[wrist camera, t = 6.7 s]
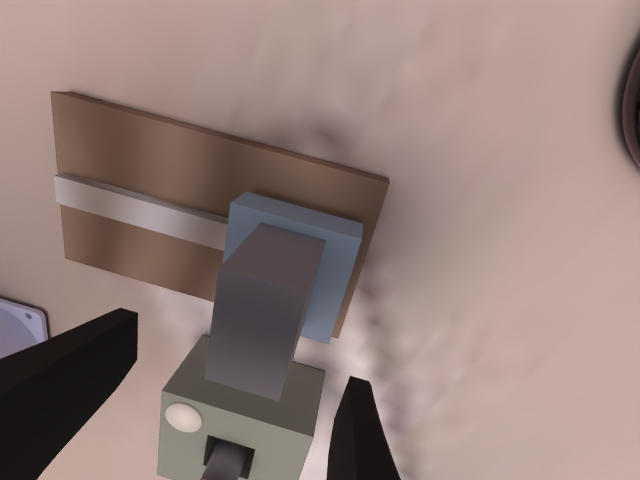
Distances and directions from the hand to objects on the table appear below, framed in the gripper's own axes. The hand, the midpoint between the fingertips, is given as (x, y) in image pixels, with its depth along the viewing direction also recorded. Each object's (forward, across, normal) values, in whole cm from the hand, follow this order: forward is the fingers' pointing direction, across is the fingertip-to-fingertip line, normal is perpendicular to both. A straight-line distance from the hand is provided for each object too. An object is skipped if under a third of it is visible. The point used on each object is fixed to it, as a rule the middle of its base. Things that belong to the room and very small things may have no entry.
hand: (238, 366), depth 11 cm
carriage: (+8, 0, 0) cm, 8 cm away
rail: (+10, +5, 0) cm, 11 cm away
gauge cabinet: (+10, +1, +13) cm, 16 cm away
